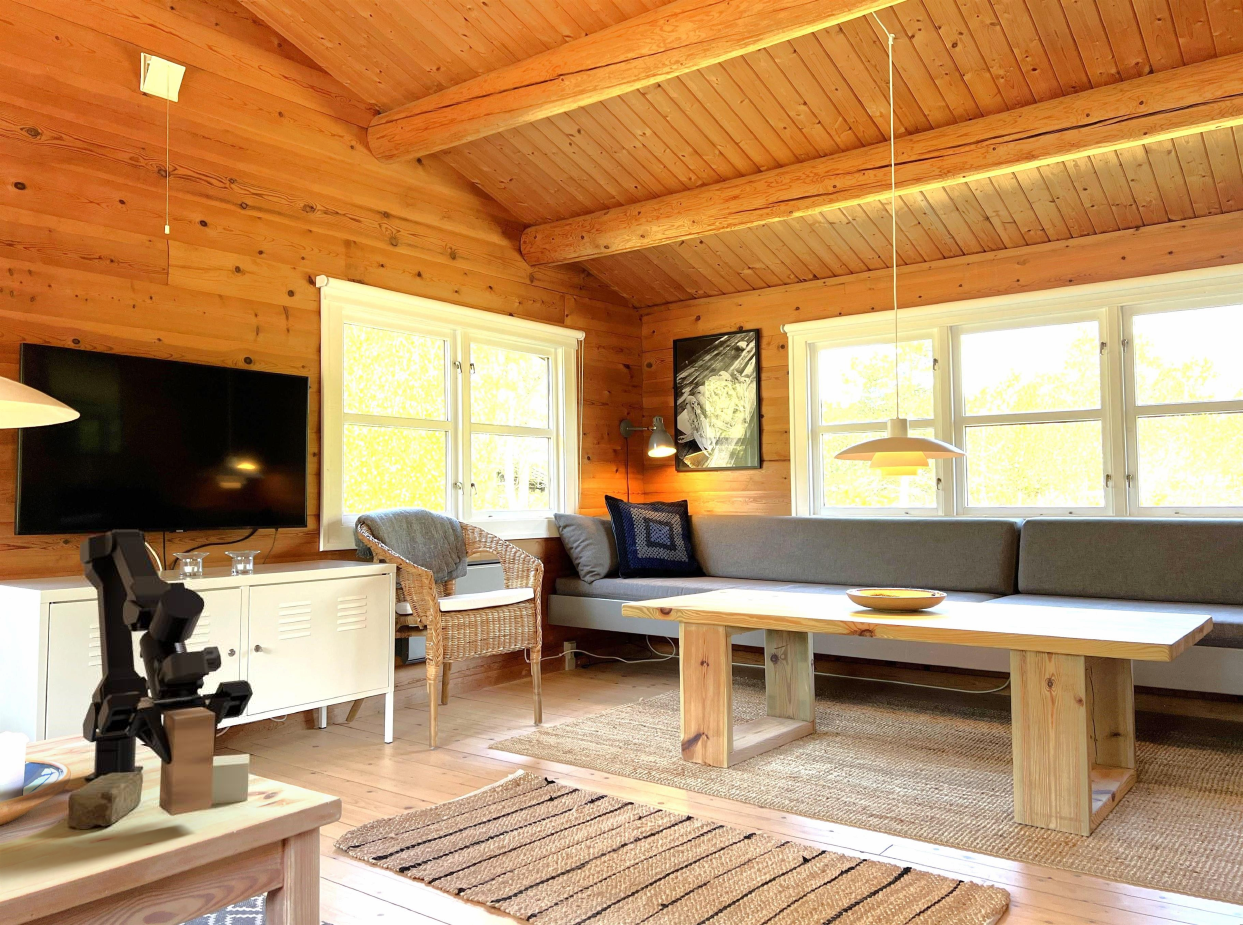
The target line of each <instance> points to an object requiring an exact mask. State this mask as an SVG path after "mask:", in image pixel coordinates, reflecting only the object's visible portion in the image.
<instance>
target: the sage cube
mask: <svg viewBox="0 0 1243 925" xmlns="http://www.w3.org/2000/svg"><path fill="white" fill-rule="evenodd" d="M250 755H251V754H250V753H246V754H245V753H244V754H243V753H242V754H230V755H219V756H218V755H217V756H216V755H215V756H214V755H213V777H212V800H211V805H213V804H215V805H217V804H224V803H237V802H246V801H247V802H248V801H249V800H248V798H249V780H250V779H249V778H250V776H249V775H250V774H249V773H250Z"/></svg>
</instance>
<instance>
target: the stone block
mask: <svg viewBox="0 0 1243 925" xmlns="http://www.w3.org/2000/svg"><path fill="white" fill-rule="evenodd" d="M143 782H144V775H143V773H142V771H140V772H127V773H110V774H108V775H105V776H100V777H98V778H97V779H94V780H93V781H89V782H88V783H87V784H85V785H83V786H82V787H81V788H78V789H76V790H74V791H73V792H71V793H70V794H69V796H68V802H67V806H68V815H67V828H70V829H71V828H73V829H74V828H75V829H76V830H90V829H92V828H94V827H98V826H102V827H105V826H112V825H113V824H114V823H116V822H118V821H119V820H120V819H122V818H124V817H125V816H126V815H127V814H130V812H131V811H133V810H134V809H136V808H137V807H138V806H139V805H140V803H141V798H142V791H143Z"/></svg>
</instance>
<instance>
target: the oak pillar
mask: <svg viewBox="0 0 1243 925" xmlns="http://www.w3.org/2000/svg"><path fill="white" fill-rule="evenodd" d="M162 724H163V728H164V731H165V734H166V737H167V740H168V743H169V747H170V751H171V757H172V761H171V763H170V764H168V765H167V764H166V763H165V762H164V761H163V760H162V759H161V758H160V759H161V760H160V777H159V778H160V780H159V784H160V785H159V808H160V809H162V810H163V811H164V812H166V813H167V814H168V815H170V816H171V817H174V816H178V815H183V814H188V813H194V812H198V811H199V812H200V811H203V810H207V809H209V810H210V809H212V804H211V800H212V777H213V757H214V755H213V753H214V754H215V750H214V730H215V713H213V712H211V711H209V710H207V709H205V708H203V707H199V708H191V709H183V710H175V711H167V712H163V715H162Z"/></svg>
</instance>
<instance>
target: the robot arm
mask: <svg viewBox="0 0 1243 925" xmlns="http://www.w3.org/2000/svg"><path fill="white" fill-rule="evenodd" d="M79 562H80V563H81V564H82V565H83V570H84V577H85V579H87V581H89V583H90V584H91V586H93V587H94V588H95V590H96V596H97V598H96V599H97V610H98V613H97V614H98V626H99V641H100V644H99V645H100V658H101V660H100V662H101V673H102V674H101V677H102V678H101V680H100V681H99V682H98V684H97V687H95V690H94V691H93V693H92V695H91V703H90V705H89V707H88V710H87V712H86V714H85V718H84V720H83V723H82V737H83V739H85V740H86V741H88V742H89V743H95V745H94V746H95V748H94V765H93V767H94V768H93V772H91V773H90V774H88V775H86V776H84V781H87V782H91V781H93V780H94V779H97V778H98V777H100V776H105V775H108V774H110V773H127V772H142V771H144V766H142V765H141V766H140V765H139V766H137V765H136V755H137V754H136V753H137V749H136V748H137V739H138V740H139V741H141V742H142V743H143V744H144V745H146V746H147V747H149V749H151V750H152V751H153V752H154V753H155V754H156V755H157V756H158V757H159V758H160V759H162V760H163V761H164V762H165V763H166V764H167V765H168V764H170V763H171V761H172V757H171V751H170V747H169V743H168V740H167V737H166V734H165V731H164V728H163V717H162V716H163V712H167V711H175V710H183V709H191V708H199V707H203V708H205V709H207V710H209V711H211V712H213V713H215V730H214V751H215V748H216V741H217V734H218V726H219V724H221V723H222V722H223V720H226V719H227V720H228V719H235V718H238V717H240V716H242V715H243V714H244V713H245V710H246V708H247V706H248V704H249V702H250V700H251V699H252V696H253V695H254V692H253V690H252V685H251V683H249V681H247V680H246V679H239V680H231V681H220V682H219V684H218V685H217V688H216V690H215V692H212V693H205V694H204V693H203V694H202V693H199V692H198V691H199V690H201V689H203V687H204V686H205V682H204V677H206V676H209V675H210V673H213V672H215V673H216V672H217V671H218V670H219V669H220V668H221V667H222V655H221V652H220V650H219V648H218V646H207V647H204V648H203V649H202V650H197V651H196V650H195V651H188V648H187V645H186V641H187V640H190V639H191V638H192V636H193V634H194V631H195V629H196V627H197V624H198V622H199V620H200V618H201V616H202V613H203V610H204V609H205V600H204V598H203V597H202V596H201V595H200V594H199V593H198V592H196V591H195V590H192V589H190V588H188V587H186V586H185V582H180V581H179V582H168V581H165V580H164V579H161V577H160V575H159V572H158V571H157V569H156V566H155V563H154V562H153V560H152V557H151V555H150V553H149V550H148V548H147V546H146V536H145V532H144V531H140V530H139V529H113V530H112V531H108V532H106V533H104V534H99V535H90V536H89V537H88V538H87V539H85V540H84V541H83V542H82V543H81V544H80V547H79ZM134 632H135V633H136V632H137V633H139V632H144V633H143V634H142V635H141V637H140V639H139V642H138V644H139V647H140V651H139V658H140V659H142V661H143V665H144V670H145V675H146V676H141V675H140V674H139V673H138V672H137V671H136V669H135V656H134V647H133V646H134V643H133V633H134ZM149 692H150V694H149ZM214 755H215V752H214V753H213V756H214Z"/></svg>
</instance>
